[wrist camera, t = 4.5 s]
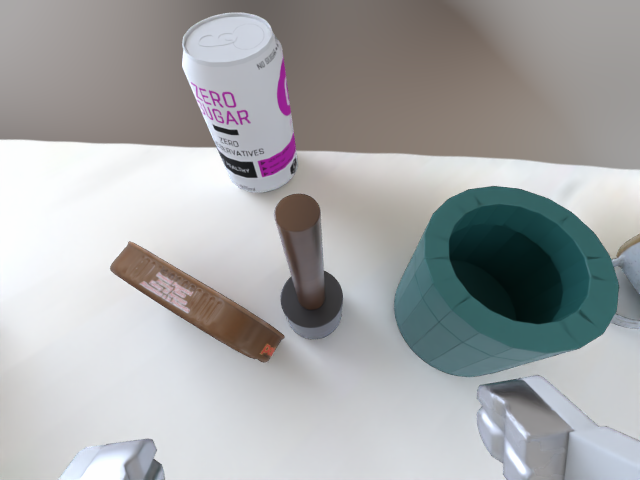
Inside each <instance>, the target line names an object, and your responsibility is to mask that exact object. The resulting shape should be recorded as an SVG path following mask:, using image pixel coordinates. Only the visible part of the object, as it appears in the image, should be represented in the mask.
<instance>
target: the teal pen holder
mask: <svg viewBox="0 0 640 480" xmlns="http://www.w3.org/2000/svg"><path fill="white" fill-rule="evenodd" d="M618 292H619V285H618V280H617V276H616V273H615V270H614V266H613V263H612V260H611V258H610V255H609V254H608V252H607V251H606V249H605V248H604V246H603V245H602V243H601V242H600V240H599V239H598V237H597V236H596V234H594V232H593V231H592V230H591V229H590V228H589V227H587V226H586V225H585V224H584V223H583V222H582V221H581V220H580V219H579V218H578V217H577V216H575V215H574V214H573V213H572V212H570V211H569V210H567V209H565V208H564V207H562V206H560V205H558V204H557V203H555V202H553V201H552V200H550V199H548V198H545V197H542V196H539V195H537V194H534V193H531V192H528V191H525V190H522V189H517V188H508V187H498V186H494V187H493V186H491V187H483V188H476V189H470V190H466V191H464V192H462V193H460V194H458V195H455V196H453V197H451V198H449V199H448V200H447V201H446V202H445V203H444V204H443V205H442V206H440V207H439V208H438V209H437V210H436V211H435V212H434V213H433V215H432V217H431V219H430V221H429V223H428V225H427V227H426V229H425V231H424V233H423V235H422V237H421V239H420V241H419V243H418V246H417V248H416V250H415V252H414V254H413V256H412V258H411V260H410V262H409V264H408V266H407V268H406V270H405V272H404V274H403V276H402V279H401V281H400V283H399V285H398V288H397V291H396V294H395V301H394V311H395V318H396V321H397V325H398V327H399V330H400V332H401V334H402V336H403V338H404V339H405V341H406V342H407V344H408V345H409V347H410V348H411V349H412V350H413V351H414V352H415V353H416V354H417V355H418V356H419V357H420V358H421V359H422V360H423V361H425V362H426V363H428V364H429V365H431V366H432V367H434V368H436V369H438V370H440V371H443V372H445V373H448V374H452V375H456V376H464V377H475V376H481V375H485V374H491V373H495V372H499V371H502V370H506V369H509V368H513V367H516V366H520V365H523V364H527V363H530V362H534V361H537V360H541V359H544V358H548V357H551V356H555V355H558V354H562V353H565V352H569V351H573V350H576V349H579V348H581V347H583V346H584V345H586V344H588V343H589V342H591V341H592V340H594V339H596V338H597V337H599V336H600V335H602V334H603V333H604V332H605V330H606V328H607V327H608V325H609V323H610V322H611V320H612V318H613V317H614V315H615V313H616V312H617V311H616V310H617V304H618Z"/></svg>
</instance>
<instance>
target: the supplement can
mask: <svg viewBox="0 0 640 480" xmlns="http://www.w3.org/2000/svg"><path fill="white" fill-rule="evenodd" d="M182 46H183V49H184V52H183V62H182V67H183V69H184V72H185V74H186V77H187V79H188V81H189V84H190V86H191V88H192V91H193V93H194V95H195V98H196V100H197V102H198V105H199V107H200V109H201V112H202V114H203V116H204V119H205V121H206V123H207V126H208V128H209V130H210V133H211V135H212V137H213V140H214V142H215V144H216V147H217V149H218V151H219V154H220V156H221V158H222V161H223V163H224V165H225V168H226V170H227V172H228V174H229V177H230V179H231V181H232V182H233V183H234V184H235V185H237V186H238V187H239V188H241V189H244V190H247V191H250V192H267V191H271V190H275V189H278V188H279V187H281V186H283V185H284V184H286V183H288V181H289V180H290V179H291V178H292V177H293V176H294V174H295V172H296V169H297V166H298V161H297V153H296V146H295V138H294V131H293V125H292V117H291V110H290V102H289V95H288V88H287V81H286V73H285V66H284V59H283V51H282V45H281V44H280V42H279V41H278V39H277V38H276V36H275V35H274V34H273V32H272V30H271V26H270V25H269V24H268V23H267V21H266V20H264V19H262V18H260V17H258V16H256V15H252V14H247V13H226V14H220V15H215V16H211V17H209V18H206V19H204V20H202V21H199V22H198V23H197V24H195V25H194V26H192V27H191V28H189V30H188V31H187V32H186V34H185V35H184V36H183V42H182Z"/></svg>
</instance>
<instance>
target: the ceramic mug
mask: <svg viewBox="0 0 640 480" xmlns="http://www.w3.org/2000/svg"><path fill="white" fill-rule="evenodd" d="M612 263H613V266H614V267H616V266H620V267H621V269H622V271H623V272H624V274H625V275H626V277H627V278H628V280H629V281H630V282H631V284H632V285H633V287H634V288H635V289H636V291H637V292H638V294H639V295H640V234H639V235H637V236H635V237H634V238H632V239H630V240H629V241H627V242H626V243H624V244H623V245H622V246H621V247H620V249H619V250H618V253H617V258H615V259H612ZM611 323H614V324H616V325H619V326H623V327H628V328H637V329H640V320H632V319H628V318H625V317H622V316H620V315H618V314H616V313H615V315H614V317H613V318H612V320H611Z"/></svg>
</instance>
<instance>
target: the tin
mask: <svg viewBox="0 0 640 480" xmlns="http://www.w3.org/2000/svg"><path fill="white" fill-rule="evenodd" d="M110 270H111V271H112V272H113V273H114V274H115V275H117V276H118V277H120V278H121V279H123V280H124V281H126V282H127V283H129V284H130V285H132V286H133V287H135V288H136V289H138V290H139V291H141V292H142V293H144V294H145V295H147V296H148V297H150V298H151V299H153V300H154V301H156V302H158V303H159V304H161V305H162V306H164V307H165V308H167V309H168V310H170V311H172V312H173V313H175V314H176V315H178V316H180V317H181V318H183V319H184V320H186V321H188V322H189V323H191V324H193V325H194V326H196V327H197V328H199V329H201V330H202V331H204V332H205V333H207V334H209V335H210V336H212V337H214V338H215V339H217V340H219V341H220V342H222V343H224V344H226V345H227V346H229V347H231V348H232V349H234V350H236V351H238V352H240V353H242V354H244V355H246V356H248V357H250V358H253V359H258V360H259V361H261V362H267V361H268V360H269V359H270V358H271V356H272V355H273V353H274V351H275V350H276V348H277V346H278V344H279V343H280V341H281V340H282V339H283V338H284V335H283V334H282V333H280V332H279V331H278V330H276V329H275V328H274V327H272V326H271V325H270V324H268V323H267V322H265V321H264V320H262V319H261V318H259V317H258V316H256V315H254V314H253V313H251V312H250V311H248V310H246V309H245V308H243V307H242V306H240V305H239V304H237V303H235V302H234V301H232V300H230V299H228V298H227V297H225V296H224V295H222V294H220V293H219V292H217V291H215V290H213V289H212V288H210V287H208V286H207V285H205V284H203V283H202V282H200V281H198V280H197V279H195V278H193V277H191V276H190V275H188V274H186V273H184V272H183V271H181V270H179V269H178V268H176V267H174V266H173V265H171V264H169V263H168V262H166V261H164V260H162V259H161V258H159V257H157V256H156V255H154V254H152V253H151V252H149V251H147V250H146V249H144V248H142V247H140V246H139V245H137V244H135V243H133V242H130V241H129V242H128V245H127V247H126V248H125V249H124V250H123V251H122V252H121V254H120V255H119V256H118V257H117V258H116V259H115V261H114V262H113V263H112V265H111V267H110Z"/></svg>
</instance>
